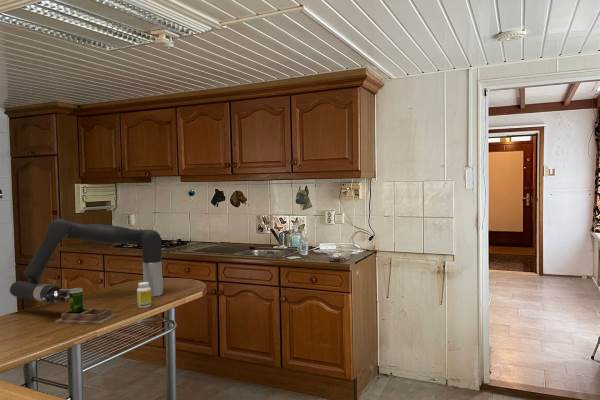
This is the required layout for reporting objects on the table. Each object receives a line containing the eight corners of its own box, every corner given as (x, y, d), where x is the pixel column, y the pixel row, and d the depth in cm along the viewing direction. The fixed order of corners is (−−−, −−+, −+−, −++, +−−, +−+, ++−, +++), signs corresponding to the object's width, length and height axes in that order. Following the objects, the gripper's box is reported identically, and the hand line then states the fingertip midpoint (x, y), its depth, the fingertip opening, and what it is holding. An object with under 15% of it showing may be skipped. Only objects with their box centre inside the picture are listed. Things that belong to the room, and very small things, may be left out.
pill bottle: (154, 304, 209) (153, 281, 209) (145, 308, 203) (144, 284, 203) (143, 303, 211) (142, 281, 211) (134, 307, 206) (133, 284, 205)
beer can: (80, 314, 194) (79, 287, 193) (86, 316, 190) (85, 288, 190) (68, 317, 190) (66, 289, 189) (73, 319, 186) (72, 291, 186)
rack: (55, 323, 185) (54, 315, 185) (74, 314, 197) (73, 306, 197) (100, 325, 182) (100, 316, 181) (117, 315, 193) (117, 308, 193)
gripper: (31, 288, 190) (57, 292, 184) (61, 281, 203) (86, 284, 197) (32, 305, 191) (58, 309, 184) (62, 297, 204) (87, 301, 197)
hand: (72, 296), depth 190 cm, fingers open, 8 cm apart
